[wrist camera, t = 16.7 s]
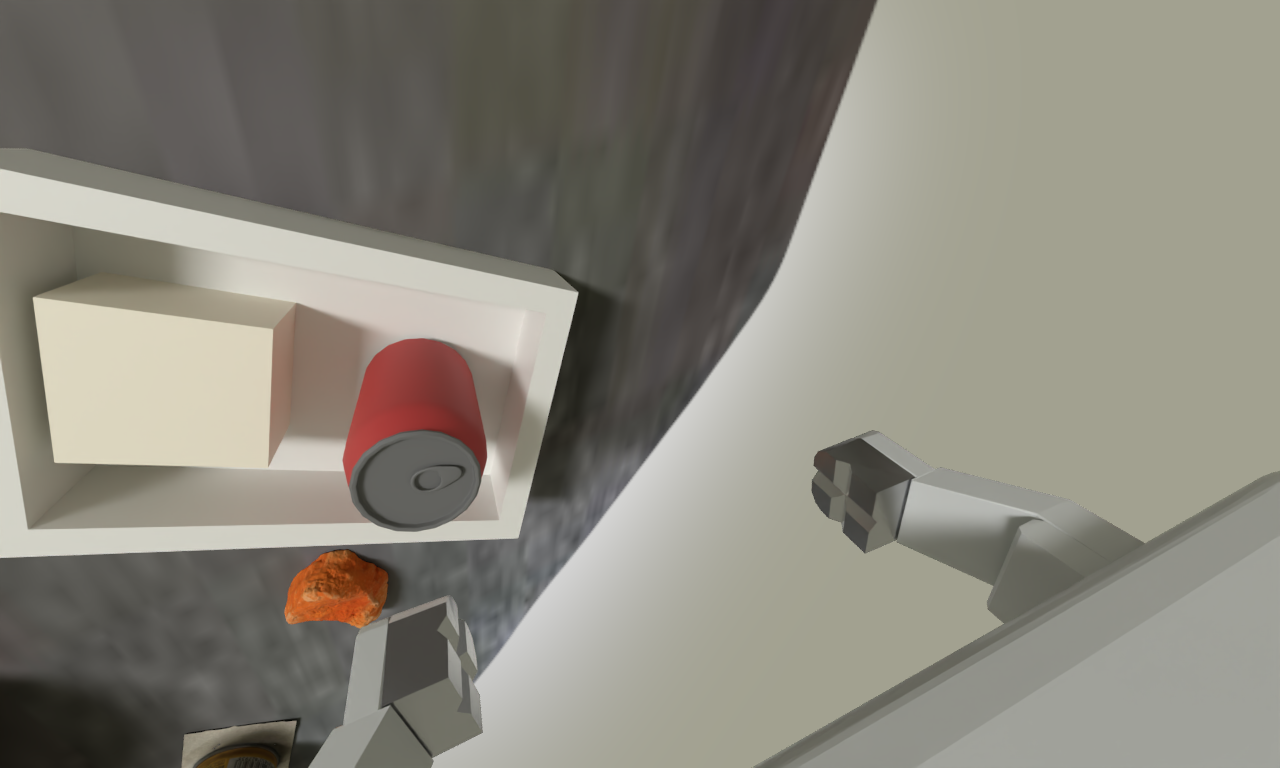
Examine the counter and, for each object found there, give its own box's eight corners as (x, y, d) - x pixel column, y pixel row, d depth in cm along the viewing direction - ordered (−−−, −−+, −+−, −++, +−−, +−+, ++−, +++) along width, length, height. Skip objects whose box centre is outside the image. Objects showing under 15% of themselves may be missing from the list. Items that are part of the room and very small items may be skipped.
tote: (29, 148, 22) (-103, 146, 16) (553, 269, 33) (578, 292, 28) (69, 478, 27) (-19, 558, 22) (505, 484, 39) (518, 538, 33)
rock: (377, 644, 41) (372, 690, 38) (210, 617, 35) (185, 670, 31) (454, 541, 40) (457, 579, 36) (296, 493, 33) (280, 533, 30)
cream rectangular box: (101, 271, 24) (32, 296, 19) (296, 302, 27) (273, 329, 23) (113, 413, 26) (54, 462, 22) (289, 424, 30) (268, 468, 26)
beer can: (481, 410, 34) (505, 515, 24) (383, 435, 32) (365, 560, 22) (458, 325, 31) (475, 405, 21) (348, 346, 29) (309, 446, 19)
